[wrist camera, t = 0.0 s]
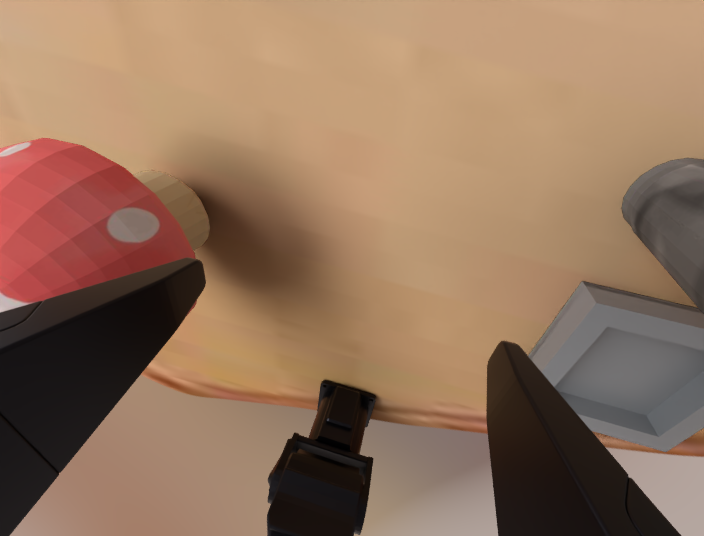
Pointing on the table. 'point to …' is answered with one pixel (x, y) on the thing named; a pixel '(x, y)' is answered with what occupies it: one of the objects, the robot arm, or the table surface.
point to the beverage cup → (672, 220)
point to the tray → (628, 364)
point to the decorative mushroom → (86, 220)
